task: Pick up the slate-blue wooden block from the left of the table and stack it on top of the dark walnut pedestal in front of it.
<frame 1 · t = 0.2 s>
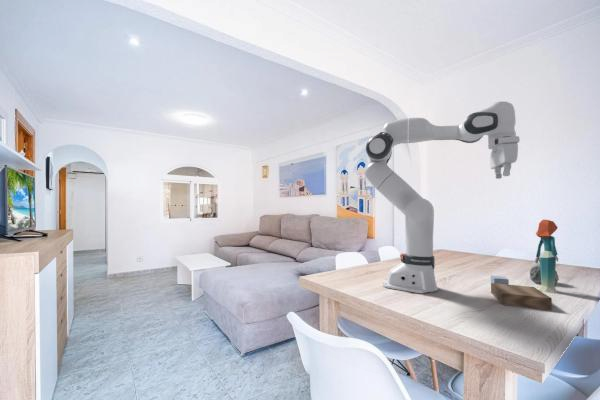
hand: (502, 177, 106), 47 cm above the table, tool pointing down, fingers open, 8 cm apart
sculpture: (547, 290, 113), on the table
slate block: (499, 289, 115), on the table
walnut pedestal: (518, 300, 100), on the table
stone: (543, 283, 124), on the table
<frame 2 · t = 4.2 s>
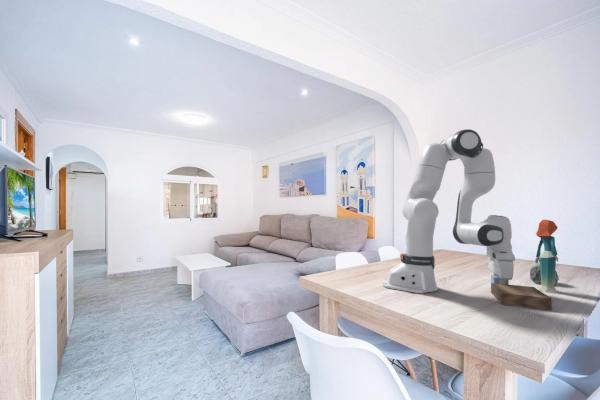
hand: (499, 284, 115), 2 cm above the table, tool pointing down, fingers closed on slate block, 5 cm apart
slate block: (499, 288, 115), on the table, touching gripper
everything else where it was.
when the fingers open (7 cm above the table, at t = 10.8 s): slate block stays where it is, resting on walnut pedestal.
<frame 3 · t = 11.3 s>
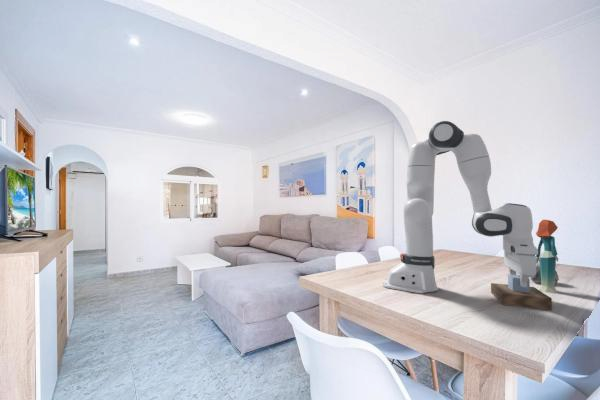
hand: (518, 283, 100), 7 cm above the table, tool pointing down, fingers open, 8 cm apart
slate block: (518, 289, 100), point 4 cm above the table, touching walnut pedestal
everything else where it was.
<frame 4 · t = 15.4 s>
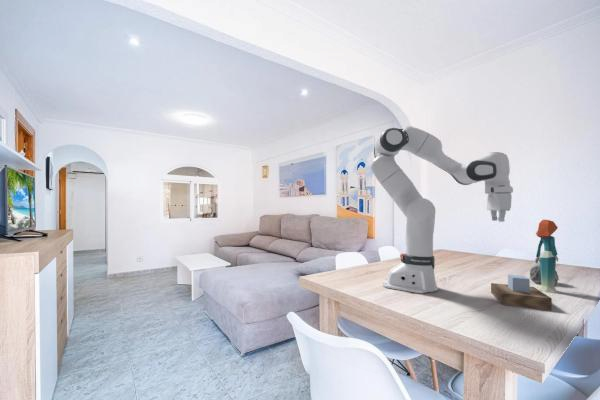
hand: (497, 221, 116), 29 cm above the table, tool pointing down, fingers open, 8 cm apart
nothing on the table moved.
at the end: slate block inside the target area on the walnut pedestal (0.0 cm from its centre), point 4.0 cm above the walnut pedestal's base; slate block tilted 0°; the gripper is holding nothing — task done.
